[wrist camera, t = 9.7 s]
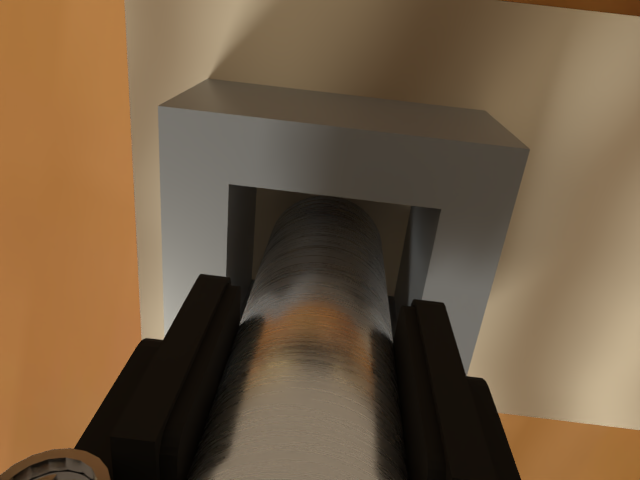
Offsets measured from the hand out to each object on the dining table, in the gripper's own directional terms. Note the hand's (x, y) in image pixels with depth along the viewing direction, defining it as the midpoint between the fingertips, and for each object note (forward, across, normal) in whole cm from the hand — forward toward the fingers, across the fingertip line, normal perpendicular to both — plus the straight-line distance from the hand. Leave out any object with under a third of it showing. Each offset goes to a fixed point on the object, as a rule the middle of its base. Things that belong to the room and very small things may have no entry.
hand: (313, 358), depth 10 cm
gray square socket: (+7, 0, 0) cm, 7 cm away
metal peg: (+5, 0, 0) cm, 5 cm away
